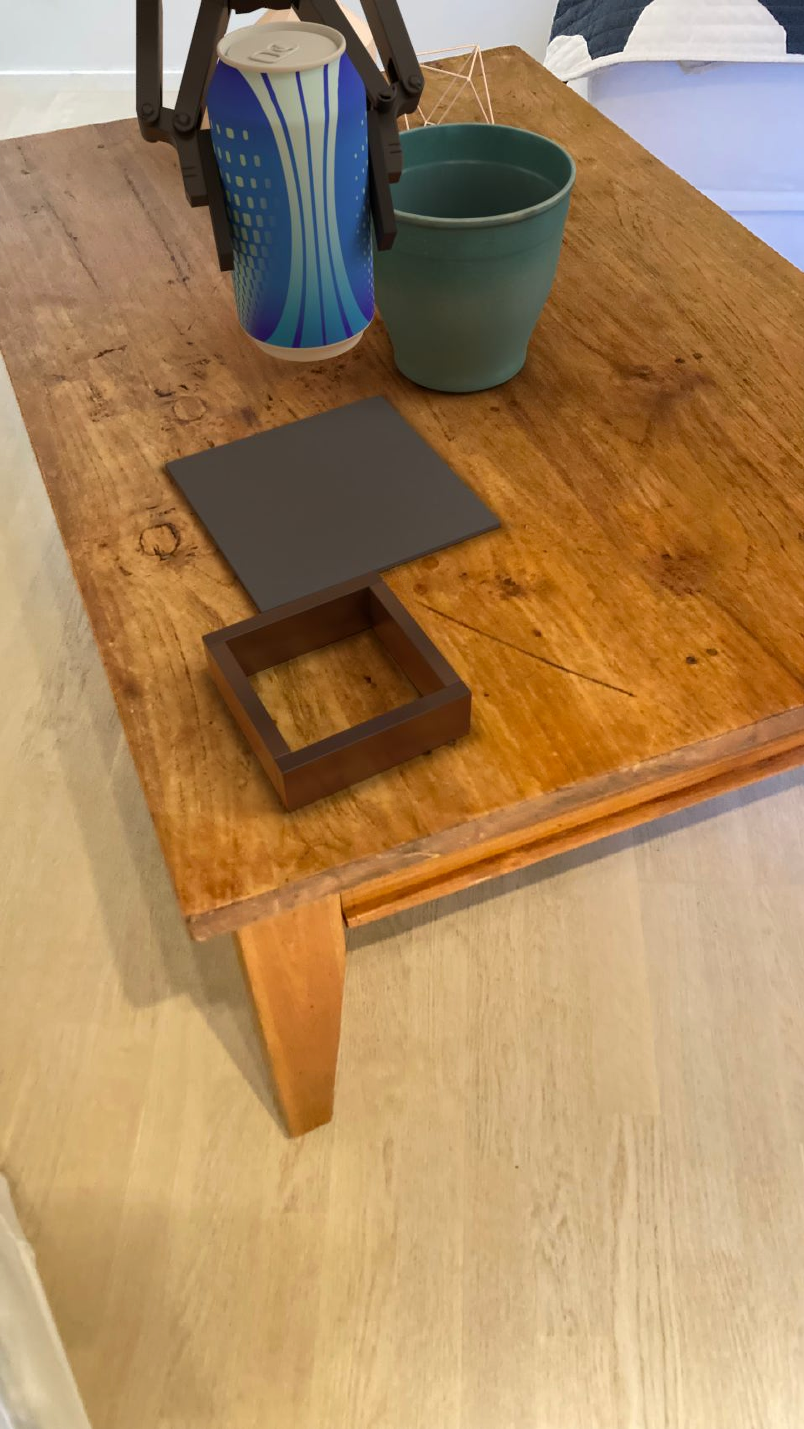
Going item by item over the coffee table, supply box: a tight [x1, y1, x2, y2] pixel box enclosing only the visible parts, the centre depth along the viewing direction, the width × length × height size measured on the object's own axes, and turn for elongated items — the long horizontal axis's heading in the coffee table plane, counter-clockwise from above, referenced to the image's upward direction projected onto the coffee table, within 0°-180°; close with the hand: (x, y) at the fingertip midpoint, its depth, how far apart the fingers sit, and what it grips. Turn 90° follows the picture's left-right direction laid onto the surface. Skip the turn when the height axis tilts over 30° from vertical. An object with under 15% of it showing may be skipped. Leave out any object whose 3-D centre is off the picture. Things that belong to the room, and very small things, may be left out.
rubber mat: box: [164, 393, 502, 614], centre depth 84 cm, size 20×20×1 cm
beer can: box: [206, 21, 376, 363], centre depth 60 cm, size 8×8×16 cm
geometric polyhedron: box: [403, 43, 495, 130], centre depth 124 cm, size 12×11×9 cm
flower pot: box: [371, 122, 577, 393], centre depth 90 cm, size 18×18×17 cm
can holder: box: [201, 571, 473, 813], centre depth 69 cm, size 13×13×4 cm
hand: (308, 252), depth 59 cm, fingers closed on beer can, 8 cm apart
